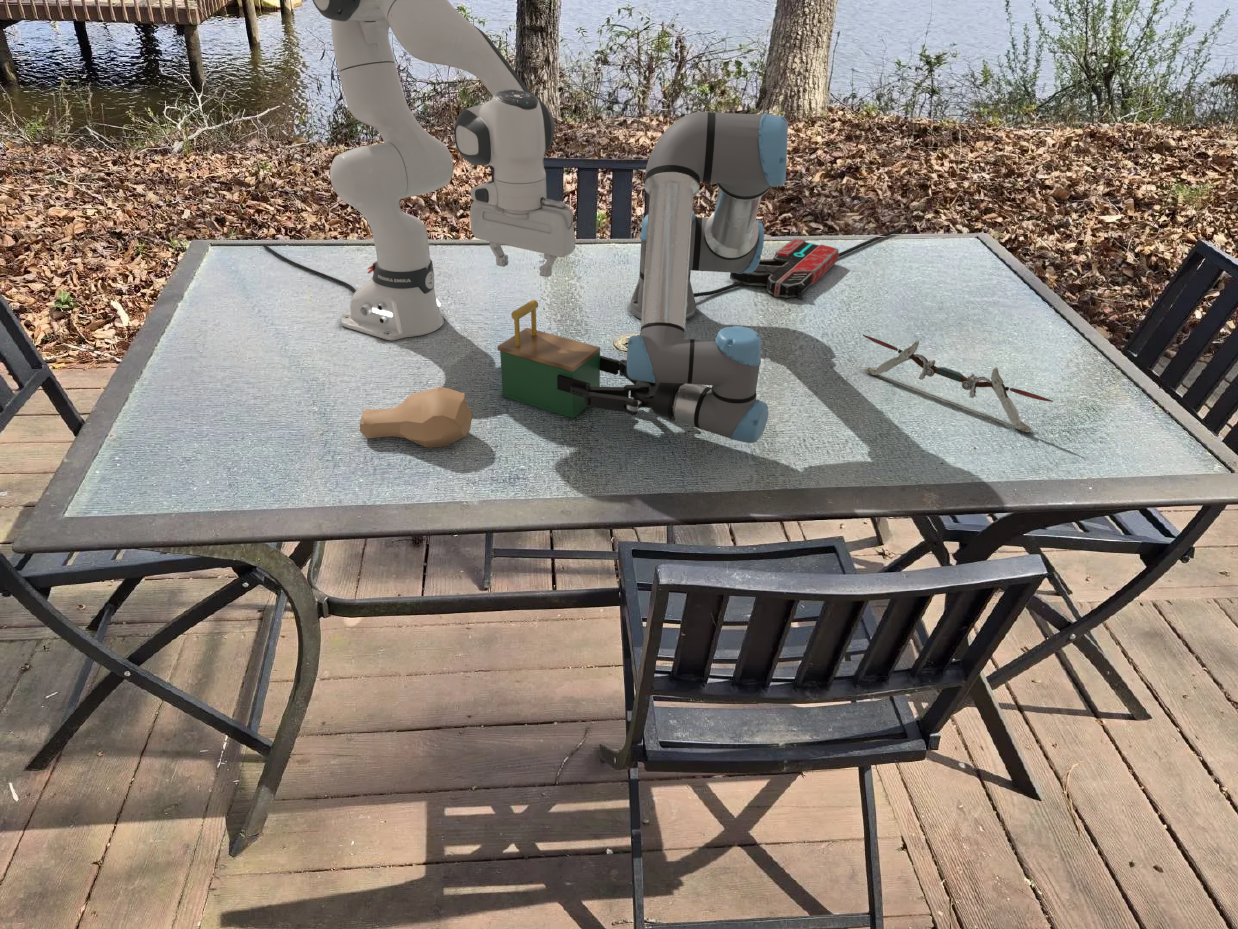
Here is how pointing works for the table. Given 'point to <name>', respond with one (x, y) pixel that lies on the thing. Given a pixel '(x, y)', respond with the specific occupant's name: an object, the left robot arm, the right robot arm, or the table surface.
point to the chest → (545, 383)
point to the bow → (967, 383)
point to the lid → (545, 344)
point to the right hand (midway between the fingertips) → (573, 370)
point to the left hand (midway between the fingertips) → (523, 270)
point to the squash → (422, 418)
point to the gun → (791, 268)
